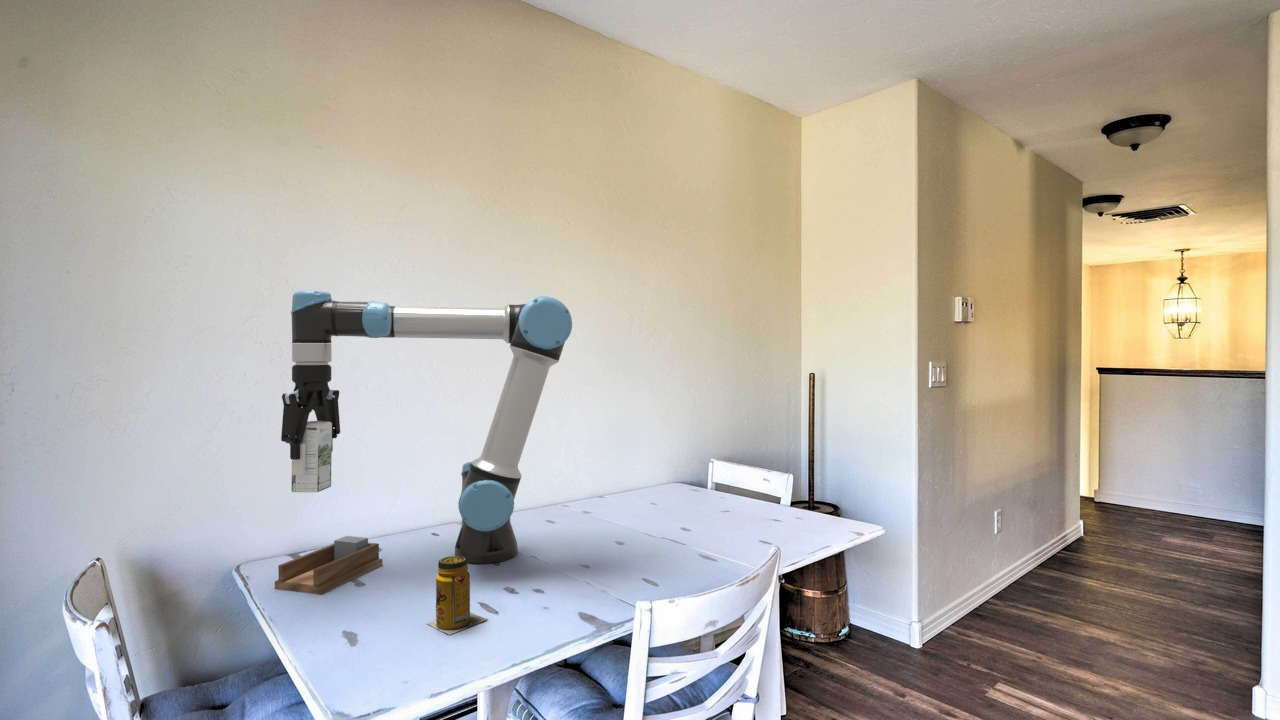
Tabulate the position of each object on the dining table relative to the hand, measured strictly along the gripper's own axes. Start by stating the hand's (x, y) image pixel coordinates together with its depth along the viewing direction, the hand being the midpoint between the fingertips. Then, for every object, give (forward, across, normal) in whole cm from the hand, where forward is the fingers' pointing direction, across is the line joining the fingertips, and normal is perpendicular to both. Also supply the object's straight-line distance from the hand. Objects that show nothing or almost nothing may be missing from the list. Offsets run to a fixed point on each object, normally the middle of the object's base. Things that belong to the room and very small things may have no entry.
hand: (312, 471), depth 138 cm
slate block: (+23, -12, 0) cm, 26 cm away
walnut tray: (+24, -6, 0) cm, 25 cm away
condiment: (+25, +8, +40) cm, 48 cm away
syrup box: (+4, 0, 0) cm, 4 cm away
